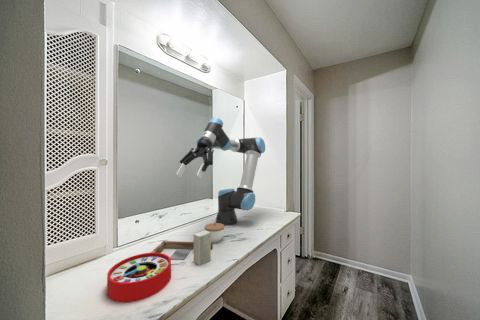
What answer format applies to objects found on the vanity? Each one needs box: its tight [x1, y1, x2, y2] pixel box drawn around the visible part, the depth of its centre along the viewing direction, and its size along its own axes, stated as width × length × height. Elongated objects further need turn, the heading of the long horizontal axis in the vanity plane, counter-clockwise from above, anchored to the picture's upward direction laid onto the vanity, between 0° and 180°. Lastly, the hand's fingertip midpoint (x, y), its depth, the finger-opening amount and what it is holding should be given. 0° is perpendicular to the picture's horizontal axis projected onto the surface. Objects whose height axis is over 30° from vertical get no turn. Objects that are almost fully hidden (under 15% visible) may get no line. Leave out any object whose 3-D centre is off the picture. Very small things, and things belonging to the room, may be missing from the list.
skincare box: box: [193, 229, 212, 266], centre depth 81 cm, size 6×4×12 cm
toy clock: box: [106, 252, 172, 303], centre depth 68 cm, size 20×6×20 cm
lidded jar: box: [204, 222, 226, 243], centre depth 103 cm, size 11×11×9 cm
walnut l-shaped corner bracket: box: [150, 240, 214, 261], centre depth 86 cm, size 16×25×3 cm, turn 86°
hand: (188, 176), depth 88 cm, fingers open, 13 cm apart
